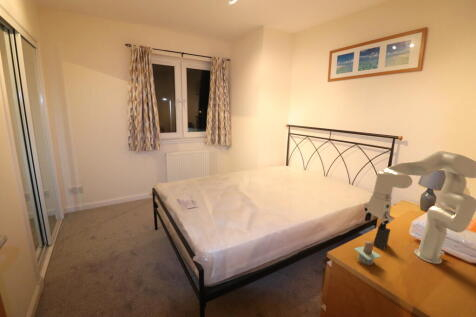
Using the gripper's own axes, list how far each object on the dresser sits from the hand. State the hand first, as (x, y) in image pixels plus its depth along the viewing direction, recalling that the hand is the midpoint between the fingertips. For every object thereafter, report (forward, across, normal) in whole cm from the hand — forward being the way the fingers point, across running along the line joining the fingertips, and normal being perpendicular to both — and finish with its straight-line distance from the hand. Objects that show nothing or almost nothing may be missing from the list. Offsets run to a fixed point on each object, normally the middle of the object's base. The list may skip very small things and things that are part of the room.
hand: (374, 225), depth 120 cm
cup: (+22, 0, 0) cm, 22 cm away
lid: (+17, 0, 0) cm, 17 cm away
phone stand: (+22, +12, -22) cm, 33 cm away
